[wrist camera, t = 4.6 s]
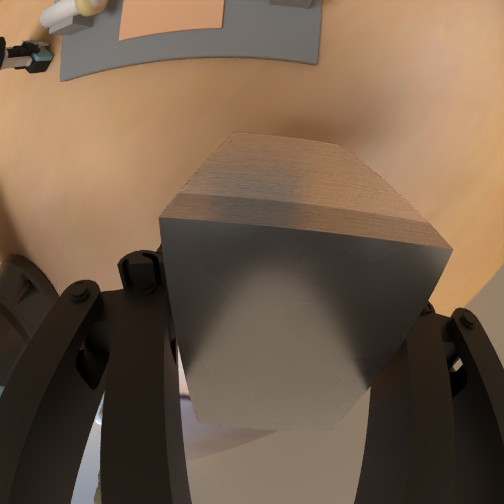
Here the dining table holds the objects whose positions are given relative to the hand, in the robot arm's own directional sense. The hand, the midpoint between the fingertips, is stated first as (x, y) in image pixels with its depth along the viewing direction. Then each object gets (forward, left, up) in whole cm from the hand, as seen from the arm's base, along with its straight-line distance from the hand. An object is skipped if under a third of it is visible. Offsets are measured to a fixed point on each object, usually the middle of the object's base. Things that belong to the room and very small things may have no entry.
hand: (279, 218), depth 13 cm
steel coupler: (0, 0, 0) cm, 0 cm away
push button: (-27, +14, -11) cm, 32 cm away
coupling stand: (-10, +16, -11) cm, 22 cm away
